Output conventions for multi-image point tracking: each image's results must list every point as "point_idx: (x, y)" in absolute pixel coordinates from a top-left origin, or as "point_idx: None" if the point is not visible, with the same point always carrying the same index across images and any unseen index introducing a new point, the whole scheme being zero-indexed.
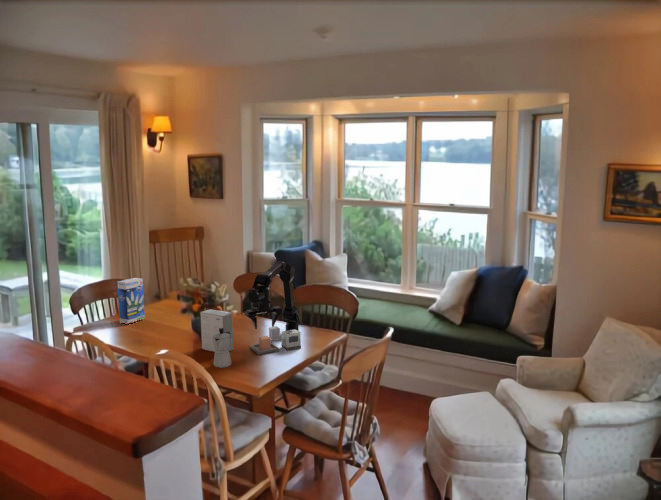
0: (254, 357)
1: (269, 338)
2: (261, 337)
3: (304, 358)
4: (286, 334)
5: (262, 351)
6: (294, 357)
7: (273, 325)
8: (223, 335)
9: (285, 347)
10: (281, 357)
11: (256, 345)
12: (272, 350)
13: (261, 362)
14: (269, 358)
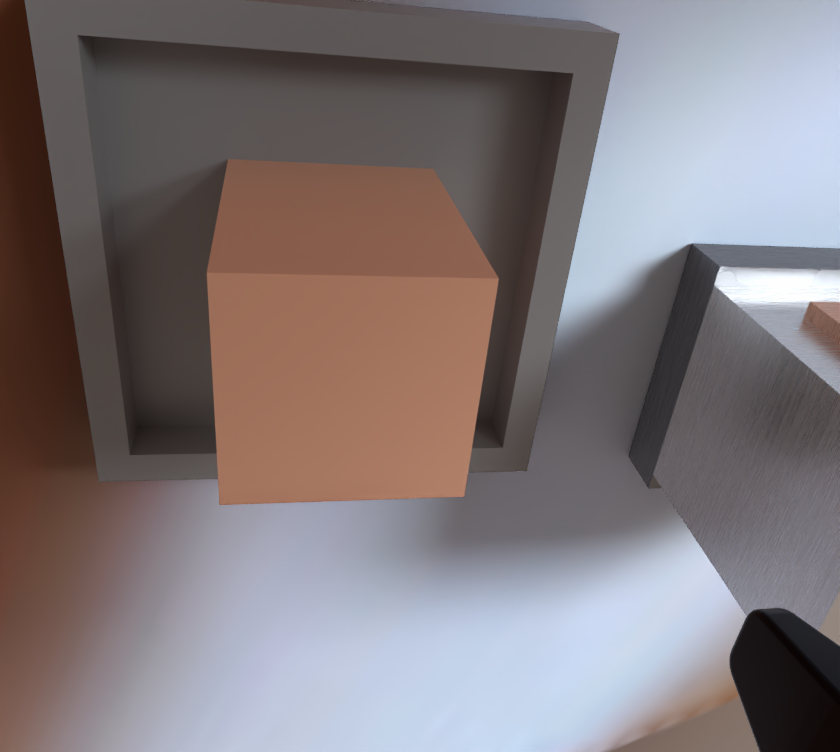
0: (3, 505)
1: (436, 497)
2: (267, 347)
3: (623, 726)
4: None
5: (187, 473)
6: (552, 677)
7: (775, 737)
8: None
9: (659, 437)
10: (410, 632)
11: (188, 40)
12: None
13: (69, 691)
14: (236, 613)
